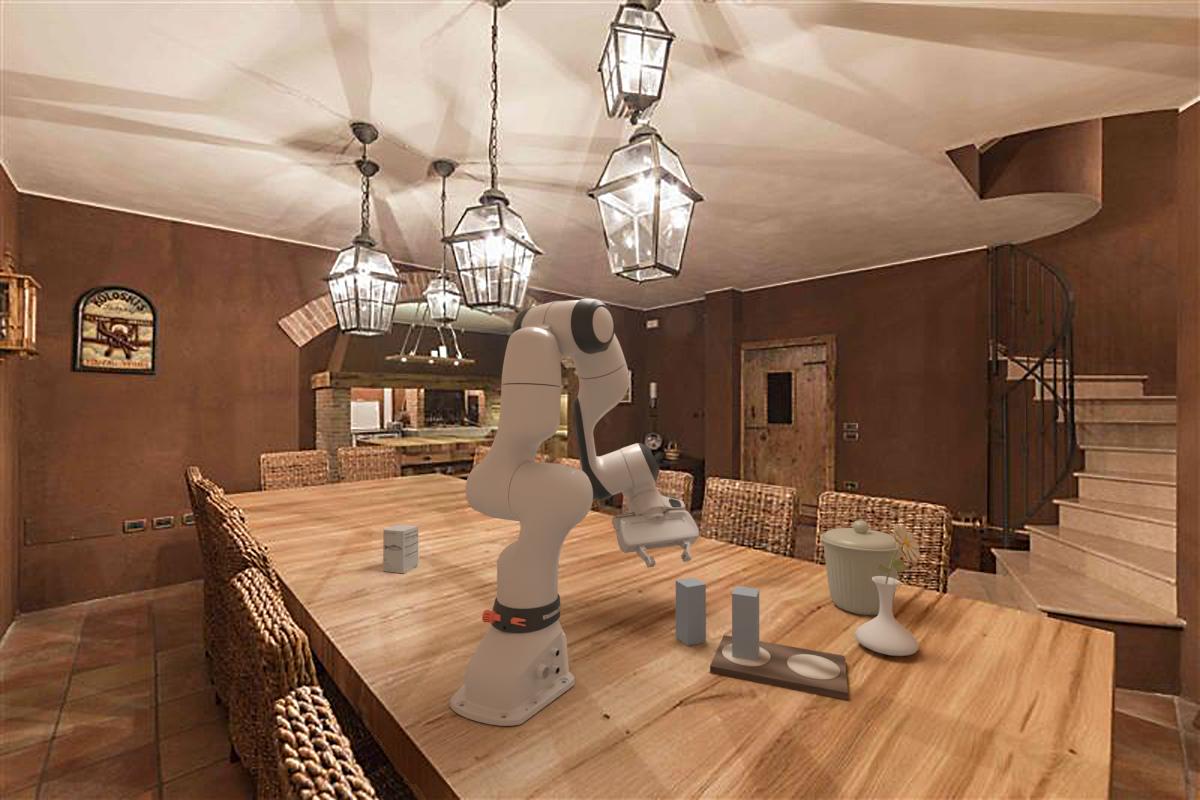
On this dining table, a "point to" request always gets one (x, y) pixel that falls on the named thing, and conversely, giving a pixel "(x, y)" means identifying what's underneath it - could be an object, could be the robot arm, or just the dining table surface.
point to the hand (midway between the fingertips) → (670, 563)
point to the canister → (857, 566)
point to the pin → (745, 623)
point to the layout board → (786, 668)
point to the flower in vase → (890, 605)
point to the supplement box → (400, 548)
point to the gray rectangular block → (691, 611)
